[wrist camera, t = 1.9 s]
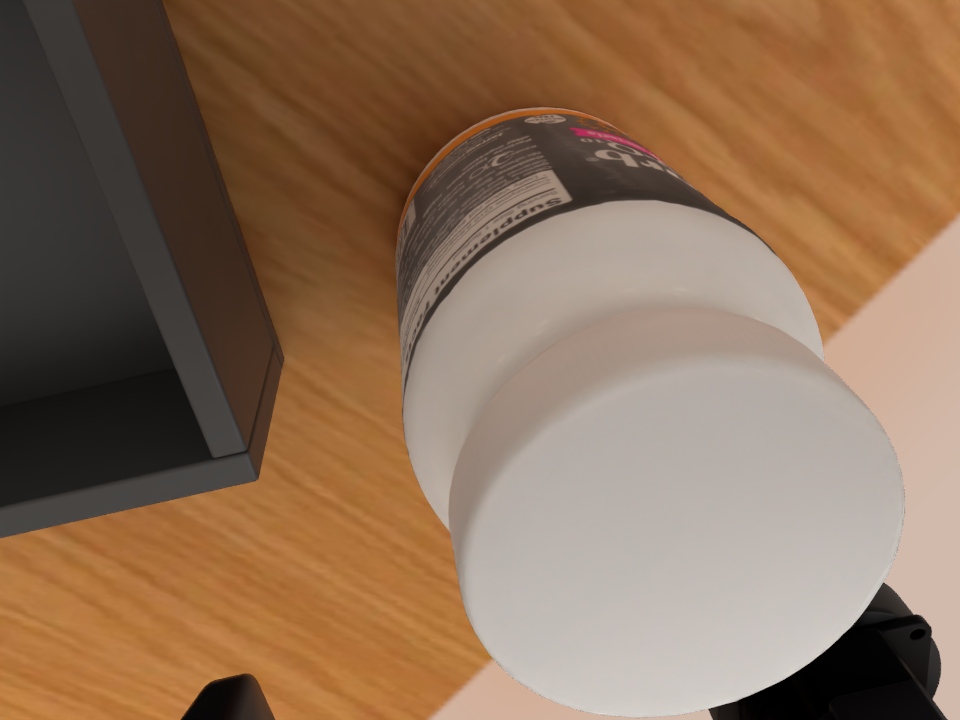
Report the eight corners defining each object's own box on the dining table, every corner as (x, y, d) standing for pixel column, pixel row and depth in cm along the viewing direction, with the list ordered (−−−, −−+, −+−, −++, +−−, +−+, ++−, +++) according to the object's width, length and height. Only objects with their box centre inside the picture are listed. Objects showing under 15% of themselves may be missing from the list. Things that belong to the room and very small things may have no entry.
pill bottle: (718, 221, 17) (1069, 513, 9) (536, 409, 19) (676, 815, 10) (521, 34, 15) (721, 169, 7) (334, 263, 17) (292, 620, 8)
